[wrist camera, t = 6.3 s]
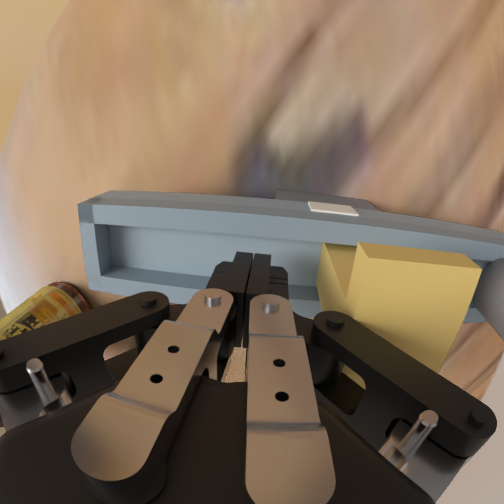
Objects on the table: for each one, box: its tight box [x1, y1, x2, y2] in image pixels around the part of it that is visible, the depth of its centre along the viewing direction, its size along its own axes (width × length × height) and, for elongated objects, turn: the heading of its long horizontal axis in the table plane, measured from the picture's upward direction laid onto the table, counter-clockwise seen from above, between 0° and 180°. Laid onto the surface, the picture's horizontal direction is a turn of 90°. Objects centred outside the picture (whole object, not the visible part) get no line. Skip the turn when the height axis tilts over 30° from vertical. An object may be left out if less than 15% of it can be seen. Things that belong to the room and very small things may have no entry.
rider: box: [316, 242, 482, 389], centre depth 12 cm, size 4×6×7 cm, turn 176°
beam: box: [78, 190, 504, 341], centre depth 15 cm, size 26×5×10 cm, turn 86°
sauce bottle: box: [0, 282, 91, 427], centre depth 15 cm, size 6×6×20 cm
